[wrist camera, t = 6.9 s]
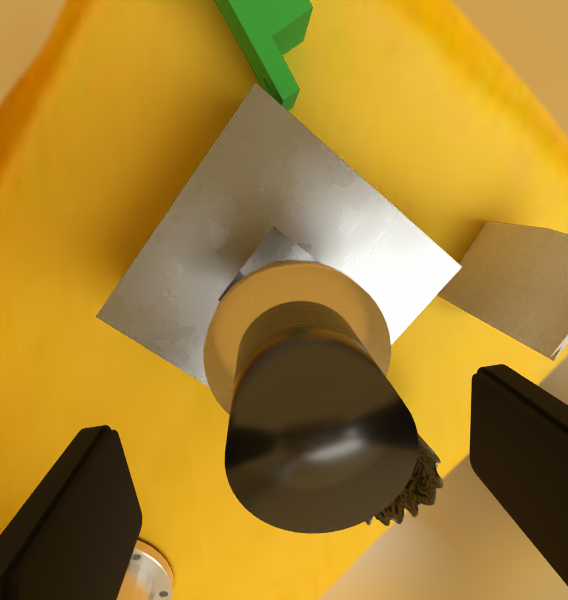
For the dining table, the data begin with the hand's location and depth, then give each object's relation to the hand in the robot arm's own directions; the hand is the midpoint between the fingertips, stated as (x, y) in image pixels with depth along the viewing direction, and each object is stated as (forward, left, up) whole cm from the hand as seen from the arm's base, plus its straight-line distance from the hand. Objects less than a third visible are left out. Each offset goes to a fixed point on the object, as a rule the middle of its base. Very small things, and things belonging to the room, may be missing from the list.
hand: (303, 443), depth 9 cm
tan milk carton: (+11, -13, -19) cm, 26 cm away
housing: (+1, 0, -19) cm, 19 cm away
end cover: (+1, 0, -10) cm, 10 cm away
